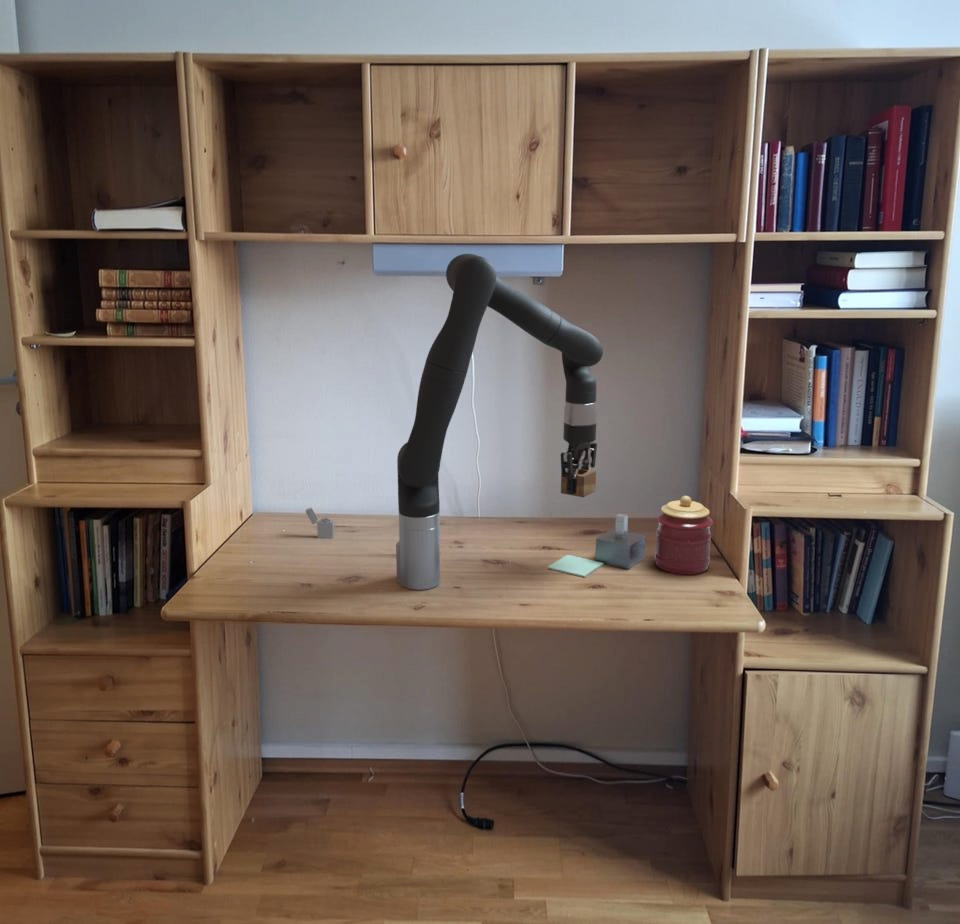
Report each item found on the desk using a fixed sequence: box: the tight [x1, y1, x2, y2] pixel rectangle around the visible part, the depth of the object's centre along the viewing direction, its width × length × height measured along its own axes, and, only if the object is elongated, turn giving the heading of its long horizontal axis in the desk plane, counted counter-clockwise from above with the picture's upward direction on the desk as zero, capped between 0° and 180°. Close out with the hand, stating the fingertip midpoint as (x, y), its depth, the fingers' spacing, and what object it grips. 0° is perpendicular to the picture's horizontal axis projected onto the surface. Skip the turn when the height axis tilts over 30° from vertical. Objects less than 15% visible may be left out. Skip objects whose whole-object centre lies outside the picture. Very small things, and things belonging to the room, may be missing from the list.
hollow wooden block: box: [560, 469, 597, 498], centre depth 206 cm, size 6×6×5 cm
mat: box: [547, 554, 605, 578], centre depth 212 cm, size 10×10×1 cm
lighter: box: [305, 507, 335, 539], centre depth 231 cm, size 7×2×8 cm, turn 87°
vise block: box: [594, 513, 646, 570], centre depth 214 cm, size 9×9×12 cm
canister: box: [654, 495, 714, 576], centre depth 210 cm, size 13×13×18 cm
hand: (578, 489), depth 207 cm, fingers closed on hollow wooden block, 6 cm apart
